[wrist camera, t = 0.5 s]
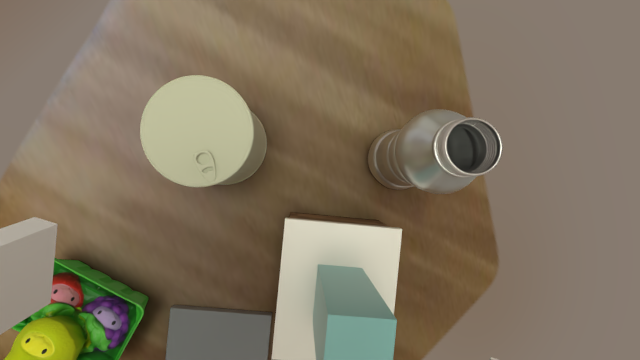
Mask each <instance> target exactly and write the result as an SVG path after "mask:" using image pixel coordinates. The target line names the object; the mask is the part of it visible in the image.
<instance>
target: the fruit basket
mask: <svg viewBox="0 0 640 360" xmlns="http://www.w3.org/2000/svg"><path fill="white" fill-rule="evenodd" d="M148 299H149V298H148V296H146V295H144V294H142V293H140V292H138V291H132V289H131V288H130V287H128V286H127V285H125V284H123V283H121V282H119V281H115V280H112V279H111V278H110V277H109V276H107V275H106V274H104V273H102V272H100V271H98V270H93V269H91V268H90V267H89V266H88V265H86V264H84V263H83V262H81V261H78V260H62V259H56V258H54V270H53V281H52V292H51V303H50V304H48V305H47V306H45V307H43V308H42V309H40V310H39V311H37V312H35V313H34V314H32V315H31V316H29V317H27V318H26V319H24V320H23V321H21V322H20V323H18V324H16V325H15V326H13V327H12V329H15V330H16V331H19V332H20V333H19V334H18V335H17V337H16V339H15V341H14V343H13V346H12V349H11V351H10V353H9V354H8V355H7V356H6V358H5V359H4V360H119V358H120V356H121V354H122V353H123V351H124V349H125V347H126V345H127V344H128V342H129V340H130V338H131V336H132V335H133V333H134V331H135V329H136V328H137V326H138V324H139V322H140V321H141V319H142V317H143V315H144V309H145V306H146V304H147V302H148Z"/></svg>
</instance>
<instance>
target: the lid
mask: <svg viewBox="0 0 640 360" xmlns="http://www.w3.org/2000/svg"><path fill="white" fill-rule="evenodd" d="M401 236H402V229H401V228H397V227H386V226H375V225H364V224H353V223H342V222H331V221H320V220H309V219H298V218H287V217H286V218H285V226H284V236H283V246H282V257H281V267H280V277H279V288H278V298H277V308H276V318H275V329H274V339H273V349H272V359H276V360H393V354H394V344H395V334H396V324H397V319H396V318H395V316H394V307H395V297H396V287H397V277H398V267H399V257H400V247H401Z"/></svg>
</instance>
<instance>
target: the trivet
mask: <svg viewBox="0 0 640 360" xmlns="http://www.w3.org/2000/svg"><path fill="white" fill-rule="evenodd" d="M271 319H272V312H261V311H248V310H235V309H222V308H209V307H196V306H183V305H173V306H172V307H171V308H170V318H169V329H168V339H167V350H166V360H268V350H269V340H270V329H271Z"/></svg>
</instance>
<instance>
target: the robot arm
mask: <svg viewBox="0 0 640 360" xmlns="http://www.w3.org/2000/svg"><path fill="white" fill-rule="evenodd" d="M56 235H57V224H56V223H52V222H49V221H46V220H43V219H39V218H36V217H33V218H30V219H27V220H24V221H22V222H19V223H16V224H13V225H10V226H7V227H4V228H1V229H0V334H2V333H4V332H5V331H7V330H8V329H10V328H12V327H13V326H15V325H16V324H18V323H20V322H21V321H23V320H24V319H26V318H27V317H29V316H31V315H32V314H34V313H35V312H37V311H39V310H40V309H42V308H43V307H45V306H47V305H48V304H50V303H51V292H52V281H53V270H54V258H55V247H56ZM490 360H498V359H495V358H492V357H491V358H490Z"/></svg>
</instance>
